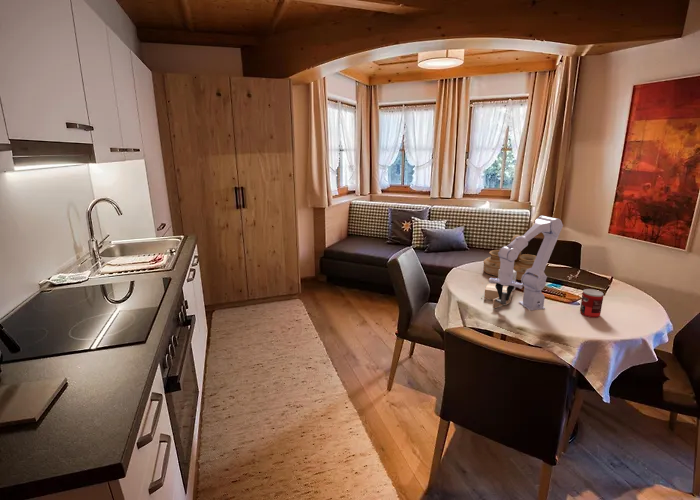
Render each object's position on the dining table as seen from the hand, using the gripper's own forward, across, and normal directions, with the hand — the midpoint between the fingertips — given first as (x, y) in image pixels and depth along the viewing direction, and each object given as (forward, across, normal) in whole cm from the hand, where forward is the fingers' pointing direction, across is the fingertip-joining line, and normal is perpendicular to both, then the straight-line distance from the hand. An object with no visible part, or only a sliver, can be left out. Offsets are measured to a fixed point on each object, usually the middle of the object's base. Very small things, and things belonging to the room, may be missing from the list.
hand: (503, 299), depth 172 cm
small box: (+6, -6, +30) cm, 31 cm away
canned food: (+6, +34, +18) cm, 39 cm away
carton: (+6, -7, +16) cm, 18 cm away
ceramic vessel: (+7, -9, +53) cm, 54 cm away
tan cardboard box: (+6, 0, +5) cm, 8 cm away
